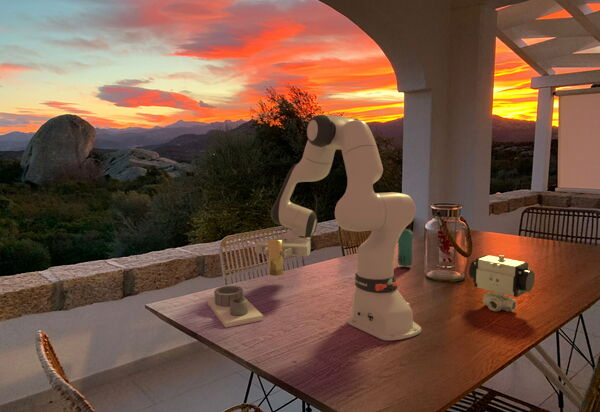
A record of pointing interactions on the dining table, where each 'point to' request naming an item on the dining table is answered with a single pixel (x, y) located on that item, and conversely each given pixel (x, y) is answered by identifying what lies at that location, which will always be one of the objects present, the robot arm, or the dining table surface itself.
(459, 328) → the dining table surface
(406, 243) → the beverage bottle
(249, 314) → the fitting plate
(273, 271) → the amber cylinder
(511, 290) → the ball valve
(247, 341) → the dining table surface
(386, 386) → the dining table surface
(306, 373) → the dining table surface
